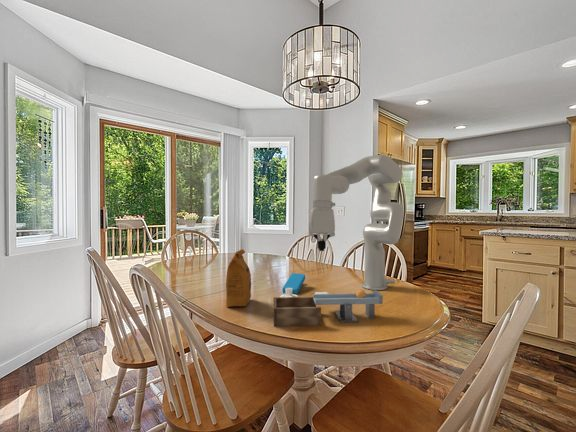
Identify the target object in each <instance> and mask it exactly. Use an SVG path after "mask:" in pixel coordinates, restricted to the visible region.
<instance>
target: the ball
mask: <svg viewBox="0 0 576 432" xmlns="http://www.w3.org/2000/svg"><path fill="white" fill-rule="evenodd" d="M366 293H367V292H366V291H365V290H364V289H358V290H357V291H356V296H357V298H365V297H366Z"/></svg>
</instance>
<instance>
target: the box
mask: <svg viewBox="0 0 576 432" xmlns="http://www.w3.org/2000/svg"><path fill="white" fill-rule="evenodd" d="M272 300H273V302H272V303H273V327H298V326H299V327H303V326H307V327H308V326H309V327H311V326H312V327H313V326H322V307H321V306H317V305H315V302H314V300H313V296H298V297H295V296H292V297H285V296H283V297H280V296H278V297H277V296H276V297H274V296H273V299H272Z"/></svg>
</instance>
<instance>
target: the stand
mask: <svg viewBox="0 0 576 432" xmlns="http://www.w3.org/2000/svg"><path fill="white" fill-rule="evenodd" d="M375 307H376V304H365V315H366V317H367V318H368V319H375V315H376V313H375V311H376V310H375ZM334 313H335V315H336V317H337V318H338V320H339V322H340V323H358V322H359V320H358V318H357V317H356V316H355V315H354V313H353V304H343V305H339V309H335V310H334Z"/></svg>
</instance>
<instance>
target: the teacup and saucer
mask: <svg viewBox="0 0 576 432" xmlns="http://www.w3.org/2000/svg"><path fill="white" fill-rule="evenodd" d="M285 290H286V293H285V294H284V293H283V294H281V295H280V296H279V297H299V295H298V294H292V288H286V289H285Z"/></svg>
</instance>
